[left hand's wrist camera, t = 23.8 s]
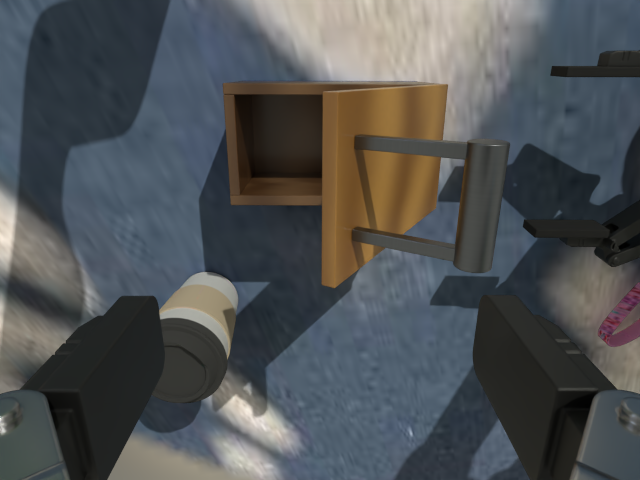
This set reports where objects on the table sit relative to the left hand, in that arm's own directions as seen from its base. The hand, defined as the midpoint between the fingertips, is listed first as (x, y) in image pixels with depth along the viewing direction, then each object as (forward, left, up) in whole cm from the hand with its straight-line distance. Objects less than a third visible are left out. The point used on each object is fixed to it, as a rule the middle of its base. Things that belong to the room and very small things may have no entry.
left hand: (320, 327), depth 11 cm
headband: (-15, +41, -39) cm, 58 cm away
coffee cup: (+23, +6, -39) cm, 46 cm away
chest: (-1, +1, -39) cm, 39 cm away
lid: (-4, +3, -20) cm, 21 cm away
